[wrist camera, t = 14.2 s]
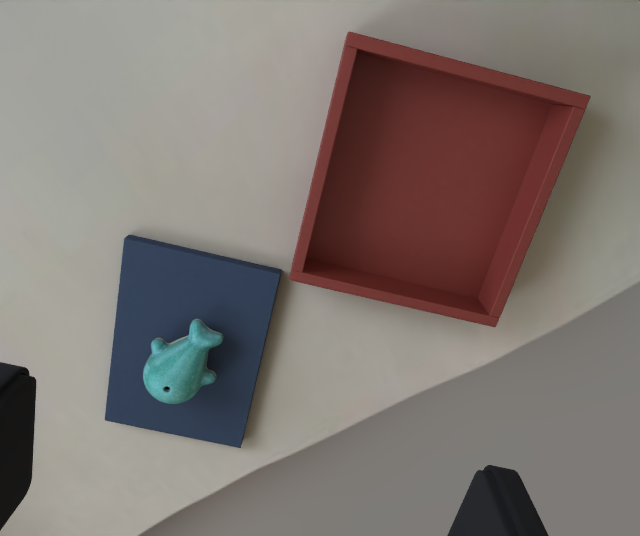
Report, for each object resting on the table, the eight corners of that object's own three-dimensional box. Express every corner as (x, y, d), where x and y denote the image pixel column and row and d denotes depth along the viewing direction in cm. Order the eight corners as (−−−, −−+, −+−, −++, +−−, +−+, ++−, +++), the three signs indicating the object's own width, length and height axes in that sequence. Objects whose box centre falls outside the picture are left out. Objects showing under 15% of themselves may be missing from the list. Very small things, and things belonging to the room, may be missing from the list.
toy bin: (346, 36, 33) (348, 31, 30) (566, 94, 34) (591, 96, 31) (292, 263, 39) (289, 280, 36) (482, 307, 40) (495, 327, 37)
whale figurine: (134, 361, 41) (116, 388, 38) (184, 299, 39) (170, 321, 35) (193, 400, 42) (180, 429, 39) (244, 342, 40) (236, 367, 37)
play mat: (129, 234, 38) (124, 238, 37) (281, 269, 39) (280, 274, 38) (109, 413, 44) (104, 420, 43) (242, 440, 45) (240, 448, 44)
